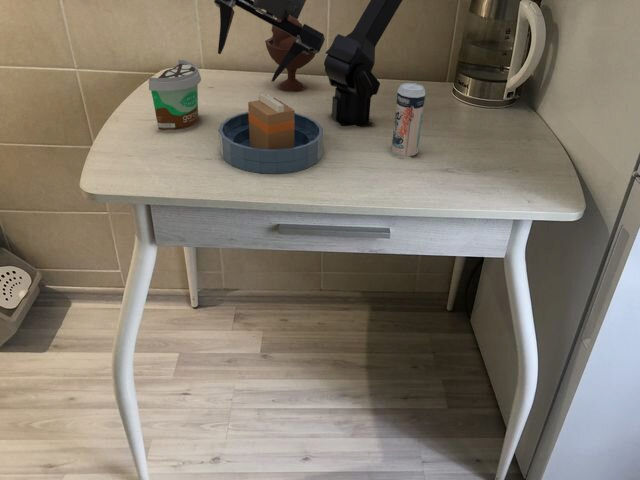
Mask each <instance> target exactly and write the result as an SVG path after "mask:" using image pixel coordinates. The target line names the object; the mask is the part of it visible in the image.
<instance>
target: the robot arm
mask: <svg viewBox="0 0 640 480" xmlns="http://www.w3.org/2000/svg"><path fill="white" fill-rule="evenodd" d="M306 1H307V0H213V3H214V5H215V6H216V7H217V8H219V35H218V48H217V54H219V55H221V54H222V53H223V50H224V48H225V46H226V43H227V39H228V36H229V33H230V30H231V29H230V28H231V26H232V22H233V19H234V16H235V10H234V8H235V7H238V8H240V9H242V10H243V11H246V13H247V12H248V13H249V14H251V15H252V16H255V17H256V18H259V19H260V20H262V21H264V22H266V23H268V24H270V25H271V26H272V25H273V26H275V27H277V28H279V29H280V30H282V31H284V32H286V33H288V34H290V35H292V36H293V37H295V38H296V42H295V41H294V43H293V44H292V46H291V47H290V49H289V51H288V52H287V54H286V55H285V57H284V59H283V60H282V62H281V63H280V65H278V66H277V68H276V70H275V72H274V73H273V75H272V78H271V82H272V83H274V82H275V81H276V79H277V78H278V77H279V76H280V75H281V74H282V73H283V71H285V69H286V67H287V66H288V64H289V63H290V62H291V61H293V60H294V59H295V58H296V57H297V56H298V55H300V54H301V53H304V54H307V55H308V54H309V53H310V51H312V52H314V53H316V54H319V53H320V52H321V49H322V47H323V46H324V42H325V40H326V38H325V35H324V33H323V32H321V31H318V30H317V29H315V28H314V27H311V26H310V25H308V24H306V23H303V24H302V26H303V27H302V28H301V27H299V26H297V25H296V24H294V23H292V22H290V21H288V20H287V19H288V18H289V16H292V17H294V18H296V19H297V20H299V17H300V15H301V12H302V11H303V8H304V6H305V4H306ZM402 2H403V0H370V1H369V2H368V4H367V6H366V7H365V9H364V11H363V13H362V15H361V16H360V18H359V20H358V21H357V23H356V25H355V26H354V28H353V30H352V31H351V32H350V33H348V34H347V35H345V36H344V35H342V34H340V33H338V34H337V35H336V36H335V37H334V38H333V40H332V43H331V45H330V47H329V48H328V49H327V50H326V51H325V54H326V56H325V58H324V62H323V66H324V72H325V75H326V76H327V78H328V81H329V85H330V86H332V87H335V88H334V89H335V92H334V95H333V96H332V100H331V101H332V103H331V113H330V115H331V117H332V118H333V119H334V121H335V122H336V123H338V124H339V125H340V126H341V127H353V126H356V127H366V126H372V125H373V121H372V120H371V119H370V114H371V102H372V101H371V100H372V97H373V96H375V95H378V91H379V89H380V87H381V83H380V81H379V80H378V79H377V77H376V76H375V75H374V74H373V73H372V70H373V68H374V66H375V63H376V62H375V61H376V47H377V45H378V43H379V41H380V39H381V38H382V37H383V34H384V33H385V31H386V29H387V28H388V26H389V24H390V22H391V21H392V19H393V18H394V16H395V14H396V12H397V10H398V8H399V7H400V5H401V3H402ZM276 19H280V20H282V21H281V23H280V22H279V21H277V20H276ZM316 54H315V55H316Z"/></svg>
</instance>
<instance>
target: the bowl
mask: <svg viewBox="0 0 640 480" xmlns="http://www.w3.org/2000/svg"><path fill="white" fill-rule="evenodd" d="M248 112H249V111H246V112H241V113H237V114H235V115H232V116H230V117H228V118H226V119H225V120H224V121H223V122H221V123H220V125H219V128H218V141H219V142H218V143H219V153H220V155H221V157H222V160H223V161H225V162H226V163H227V164H229V165H230V166H232V167H234V168H237V169H240V170H242V171H244V172H251V173H257V174H266V175H271V174H272V175H275V174H276V175H277V174H278V175H281V174H288V173H289V174H290V173H296V172H299V171H303V170H306V169H309V168H311V167H313V166H314V165H316V164H317V163H319V161H320V159H322V157H323V145H324V144H323V141H324V140H323V139H324V133H323V132H324V131H323V130H324V129H323V127H322V126H321V124H320V123H319V122H318V121H317V120H316V119H313V118H311V117H309V116H306V115H304V114H300V113H297V112H294V148H288V149H278V150H275V149H258V148H252V147H250V135H249V113H248Z"/></svg>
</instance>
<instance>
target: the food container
mask: <svg viewBox="0 0 640 480" xmlns="http://www.w3.org/2000/svg"><path fill="white" fill-rule="evenodd" d="M177 60H178V61H177V62H178V64H177V65H176V66H174V67H172V68H169V69H166V70H164V71H163V72H162V73H161V74H160V75H159V76H158V77H151V76H148V91H151V97H152V102H153V108H154V113H155V117H156V123H157V127H158V130H164V131H174V130H183V129H187V128H190V127H192V126H194V125H196V124H197V123H198V122H199V92H198V91H199V90H198V89H199V87H198V86H199V84H200V83H201V81H202V76H201V74H200V70H199V69H198V67H197V65H196V64H195V63H193V62H191V61H189V60H187V59H186V60H185V59H181V58H178V59H177Z"/></svg>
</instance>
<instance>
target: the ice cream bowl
mask: <svg viewBox="0 0 640 480" xmlns="http://www.w3.org/2000/svg"><path fill="white" fill-rule="evenodd" d="M275 20H277V21H279V22H280V23H281V21H282V20H280V19H277V18H275ZM287 20H288V21H290V22H292V23H294V24H296V25H297V26H299V27H301V28H302V27H303V24H302V22H300V21H299V19H296V18H294V17H292V16H290V15H289V18H288V19H287ZM271 33H272V36H271V37H270V38H268V39H266V40H265V46H266V50H267V52H268V54H269V56H270V57H271V59H272V60H273V61H274V62H275V63H276V64H277V65H278V66H279V65H280V63H281V62H282V60H283V59H284V57H285V55H286V54H287V52H288V51H289V49H290V47H291V46H292V44H293V43H294V41H295V42H296V38H295V37H293V36H292V35H290V34H288V33H286V32H284V31H282V30H280V29H279V28H277V27H275V26H273V25H271ZM315 56H316V53H314V52H312V51H310V53H309V54H308V55H307V54H304V53H301V54H300V55H298V56H297V57H296V58H295V59H294V60H293V61H291V62H290V63H289V64H288V66H287V67H286V68H285V69H286V71H287V78H286V79H285V80H283V81H282V82H280V83H279V84H278V87H279V89H280V90H283V91H285V92H300V91H303V90H304V89H305V85H304V83H303V82H301V81H299V80H298V79H297V78H296V77H297V75H296V73H297V71H298V70H299V69H301V68H303V67H305V66H306V65H308V64H309V63H310V62H311V61H312V60H313V59H314V58H315Z"/></svg>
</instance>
